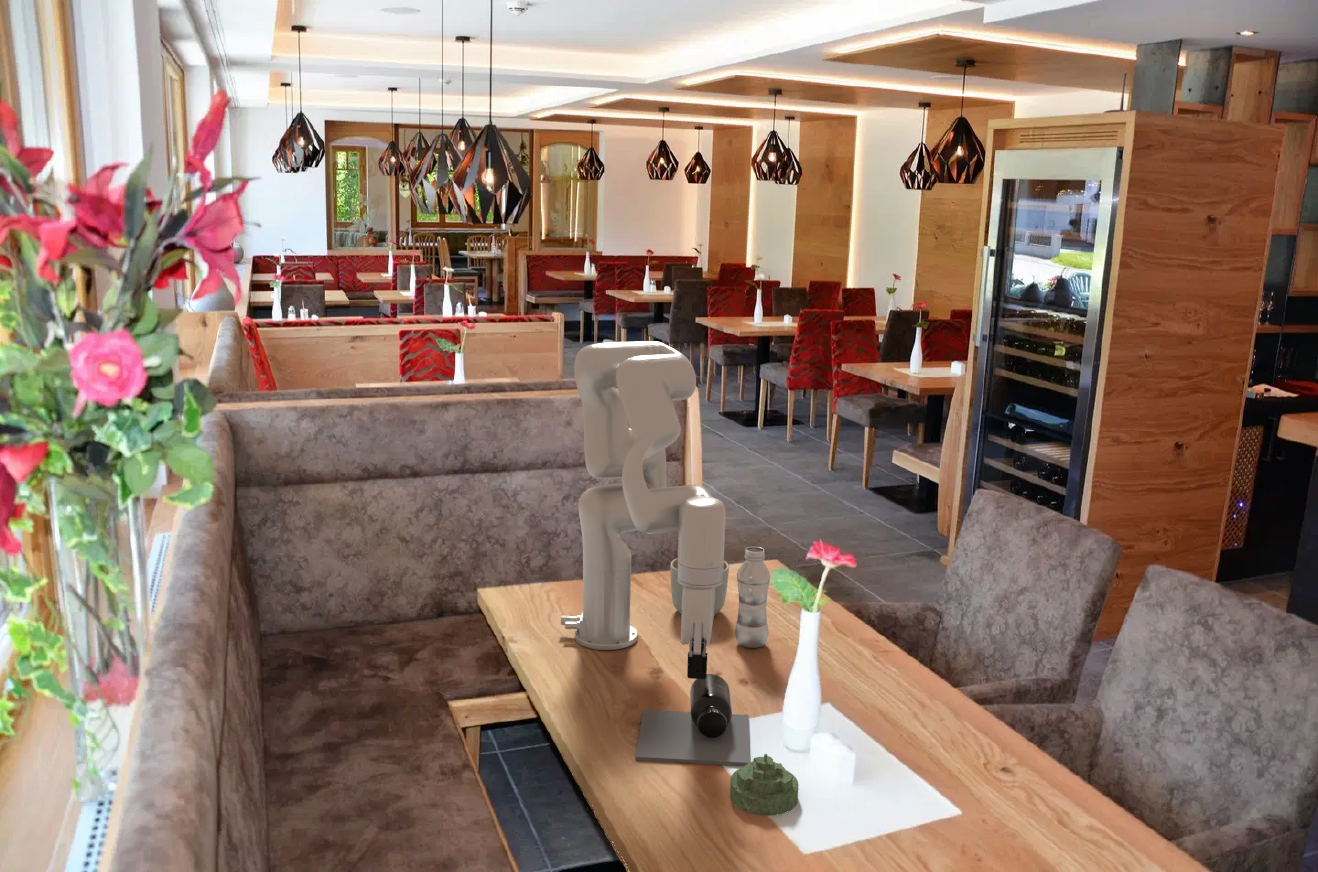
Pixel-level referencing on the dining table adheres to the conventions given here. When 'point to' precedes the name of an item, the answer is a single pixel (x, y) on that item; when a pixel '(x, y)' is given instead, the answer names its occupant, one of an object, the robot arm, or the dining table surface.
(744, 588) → the plastic bottle
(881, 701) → the dining table surface
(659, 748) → the mat
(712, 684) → the supplement bottle
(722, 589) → the planter
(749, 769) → the decorative artifact
